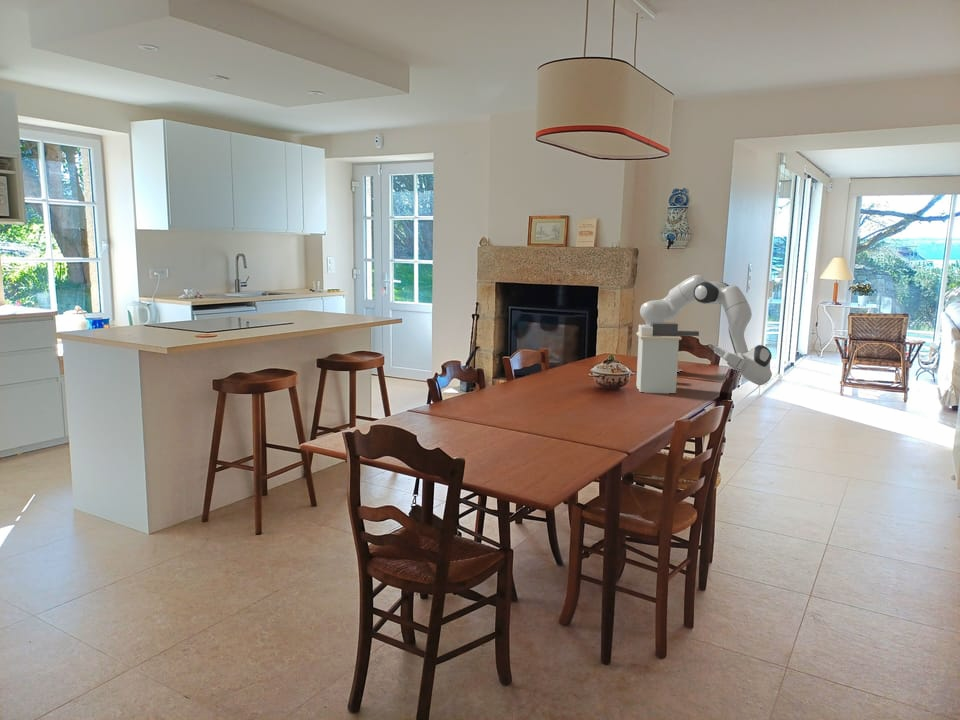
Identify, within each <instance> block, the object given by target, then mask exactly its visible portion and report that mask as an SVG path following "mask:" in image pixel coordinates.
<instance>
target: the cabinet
mask: <svg viewBox="0 0 960 720" xmlns="http://www.w3.org/2000/svg"><path fill="white" fill-rule="evenodd" d="M635 334H636V335H637V337H638V342H637V343H638V346H637V363H636V364H637V365H636V382H635V383H636V384H635V385H636V388H637V390H638V389H639V390H638V391H639V393H640V392H644V393H646V394H669V393H676V394H677V383H678V382H677V381H678V380H677V379H678V373H677V366H678V367H679V361H678V360H679V345H680V343H679V342H680V341H681V340H682V339H683V338H682V336H641V335H640V334H639V333H638V331H636V333H635ZM644 393H643V394H644Z"/></svg>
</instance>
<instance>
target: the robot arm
mask: <svg viewBox="0 0 960 720" xmlns="http://www.w3.org/2000/svg"><path fill="white" fill-rule="evenodd" d="M694 300H696V301H697V302H698V303H701V304H706V305H707V304H708V305H717V304H719V305H720V304H721V306H722V308H723V310H724V312H725V315H726V317H727V323H728V335H729V338H730V341H731V345H732V348H733V350H734V352H733V353H731V352H729V351H728V350H726V349H724V348H722V347H721V346H716V345H714V344H712V343H709V345H708V348H710V349H711V350H713V352H714V354H715V355H717V356H719V357H720V358H721V359H723V360H725V362H726V363H727V365H728V369H729V370H731V369H733V370H737V372H738V371H740V372H739V373H741V374H740V376H742V377H743V378H744V379H746V380H747V381H749V382H750V383H753V384H755V385H756V386H757V385H758V386H763V385H765V384H767V383H768V382H769V381H770V380H771V378H772V376H773V373H772V370H771V360H772V358H773V356H772V352H771V350H770V348H768V347H767V346H765V345H762V344H758V345H755V346H754V347H752V348H751V349H748V346H747V342H746V339H745V331H746V329H747V327H748V324H749V323H750V321H751V319H752V316H753V315H752V310H751V305H750V304H749V302H748V300H747V298H746V295H745V294H744V293H743V291H742V290H741V289H740V287H739V286H736V285H733V284H732V285H729V284H728V283H725V282H722V281H714V280H713V281H707V279H706V278H705V277H704V276H703V275H700V274H694V275H691V276H689V277H688V278H685V279H684V280H683V281H681V282H680V283H677V285H676V286H674V287H673V288H671V289H670V290H669V291H668V294H667V295H666V296H665V297H664V298H662V299H655V300H649V301H646V302H644V303H642V304H641V306H640V309H639V313H640V314H639V315H640V317H641V318H642V319H643V320H644V322H645V325H650V326H651V322H665V321H668V320H672V319H674V318H676V317H677V316H678V315H679V313H680V311H681V309H683V308H685V307H686V306H688V305H689V304H690V303H692V302H693V301H694ZM678 367H679V365H678V366H677V372H679V371H682V372H683V369H682V368H678ZM737 368H738V369H737ZM739 369H740V370H739ZM679 373H680V372H679Z"/></svg>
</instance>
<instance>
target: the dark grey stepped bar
mask: <svg viewBox="0 0 960 720" xmlns="http://www.w3.org/2000/svg"><path fill="white" fill-rule="evenodd" d="M651 327H653V336H680V337H685V336H686V337H688V336H689V337H699V336H700V331H698V330H678V329H679V324H678V323H676V322H667V321H666V322H665V321H664V322H651Z"/></svg>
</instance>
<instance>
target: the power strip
mask: <svg viewBox="0 0 960 720" xmlns="http://www.w3.org/2000/svg"><path fill="white" fill-rule="evenodd" d="M637 332H638V333H639V334H640V335H641V336H653V327H651V326H650V325H646V324H643V323H640V324H638V330H637Z"/></svg>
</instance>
